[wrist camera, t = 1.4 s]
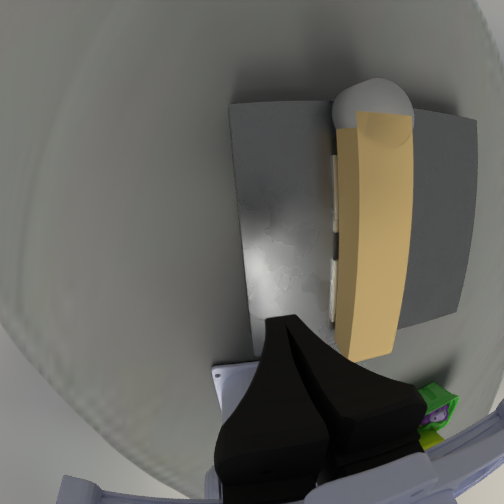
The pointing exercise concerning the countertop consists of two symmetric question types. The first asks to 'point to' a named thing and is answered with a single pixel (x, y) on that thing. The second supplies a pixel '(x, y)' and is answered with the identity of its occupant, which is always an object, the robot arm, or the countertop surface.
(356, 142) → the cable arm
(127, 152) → the countertop surface
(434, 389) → the fruit basket
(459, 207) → the plate
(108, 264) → the countertop surface
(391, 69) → the countertop surface
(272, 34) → the countertop surface
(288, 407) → the robot arm
